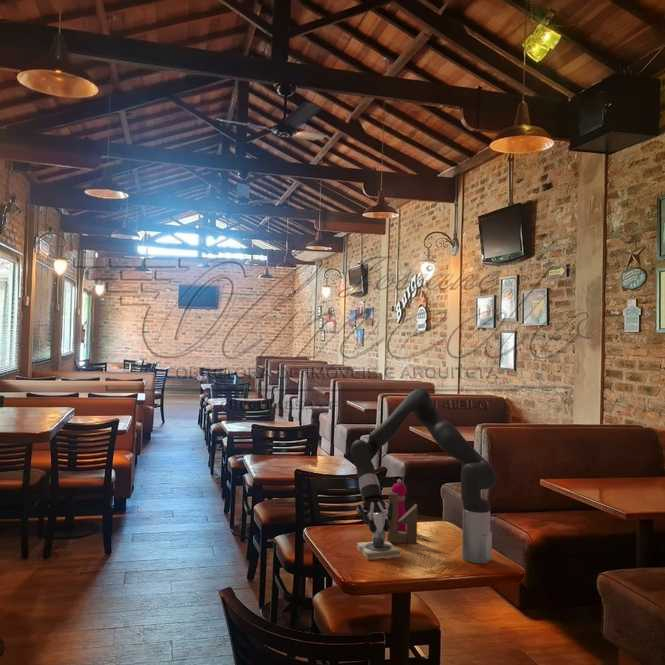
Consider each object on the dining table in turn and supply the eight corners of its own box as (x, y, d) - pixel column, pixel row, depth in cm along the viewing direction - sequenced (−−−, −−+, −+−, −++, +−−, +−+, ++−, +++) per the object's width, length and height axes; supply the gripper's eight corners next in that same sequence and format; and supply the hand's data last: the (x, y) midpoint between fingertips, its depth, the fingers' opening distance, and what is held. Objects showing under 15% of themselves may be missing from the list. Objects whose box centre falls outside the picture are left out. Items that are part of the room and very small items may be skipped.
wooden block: (416, 544, 221) (417, 495, 221) (387, 543, 221) (389, 494, 221) (415, 541, 224) (416, 493, 225) (387, 540, 224) (388, 492, 225)
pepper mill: (410, 528, 240) (411, 479, 241) (402, 532, 234) (403, 482, 235) (394, 525, 244) (395, 476, 245) (386, 529, 238) (387, 479, 239)
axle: (386, 543, 211) (387, 512, 211) (380, 546, 207) (381, 515, 207) (376, 541, 213) (376, 510, 214) (369, 544, 210) (370, 513, 210)
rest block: (400, 557, 206) (400, 551, 206) (367, 559, 203) (367, 553, 203) (387, 546, 217) (388, 540, 217) (356, 548, 214) (356, 542, 214)
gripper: (385, 493, 225) (396, 535, 213) (349, 495, 221) (358, 537, 209) (390, 482, 220) (402, 525, 208) (354, 483, 216) (363, 527, 204)
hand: (380, 531), depth 208 cm, fingers closed on axle, 4 cm apart
